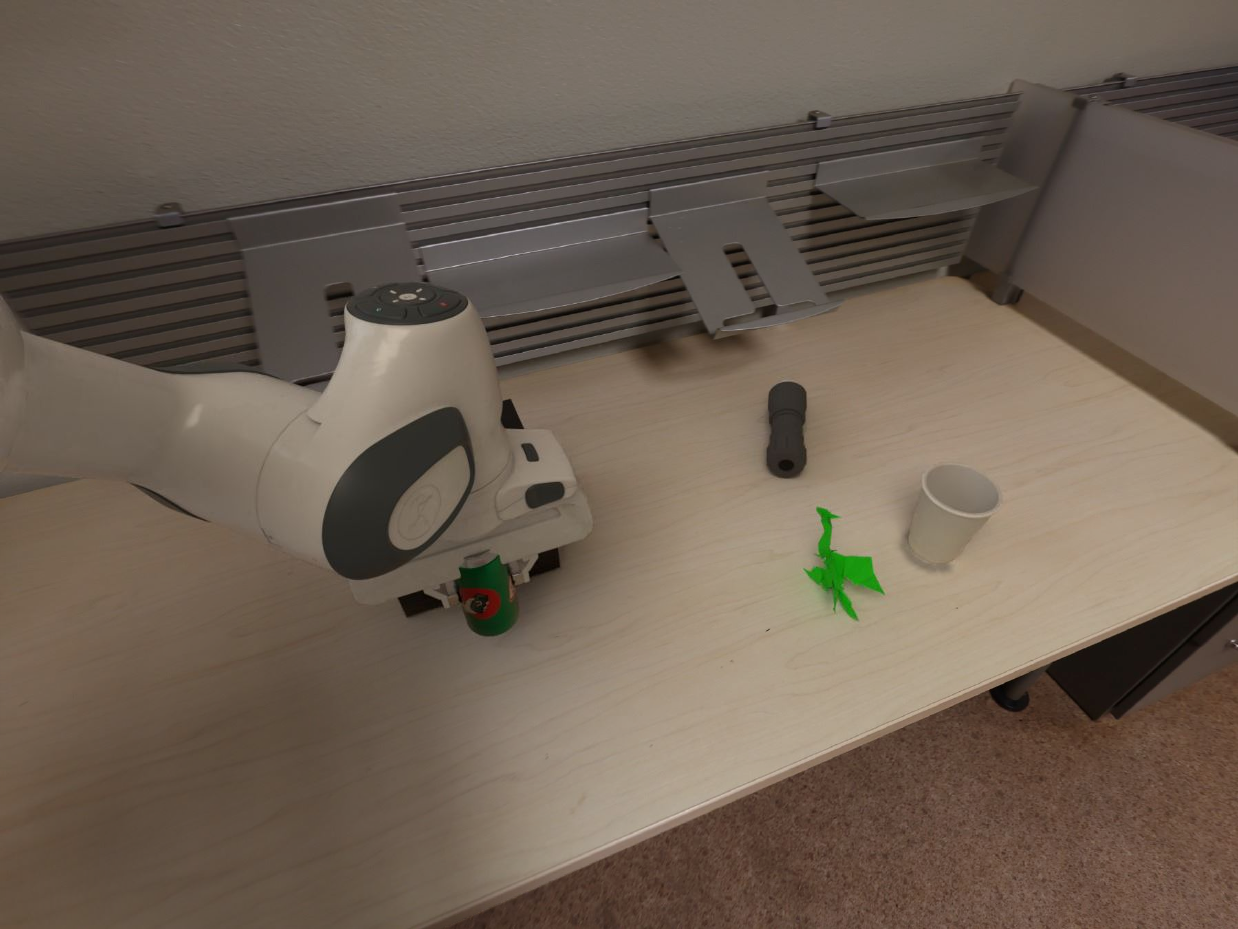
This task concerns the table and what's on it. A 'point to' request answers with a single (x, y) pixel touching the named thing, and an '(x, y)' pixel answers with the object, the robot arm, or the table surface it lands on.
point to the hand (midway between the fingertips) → (486, 589)
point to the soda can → (487, 594)
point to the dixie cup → (951, 510)
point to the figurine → (841, 567)
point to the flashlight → (787, 428)
